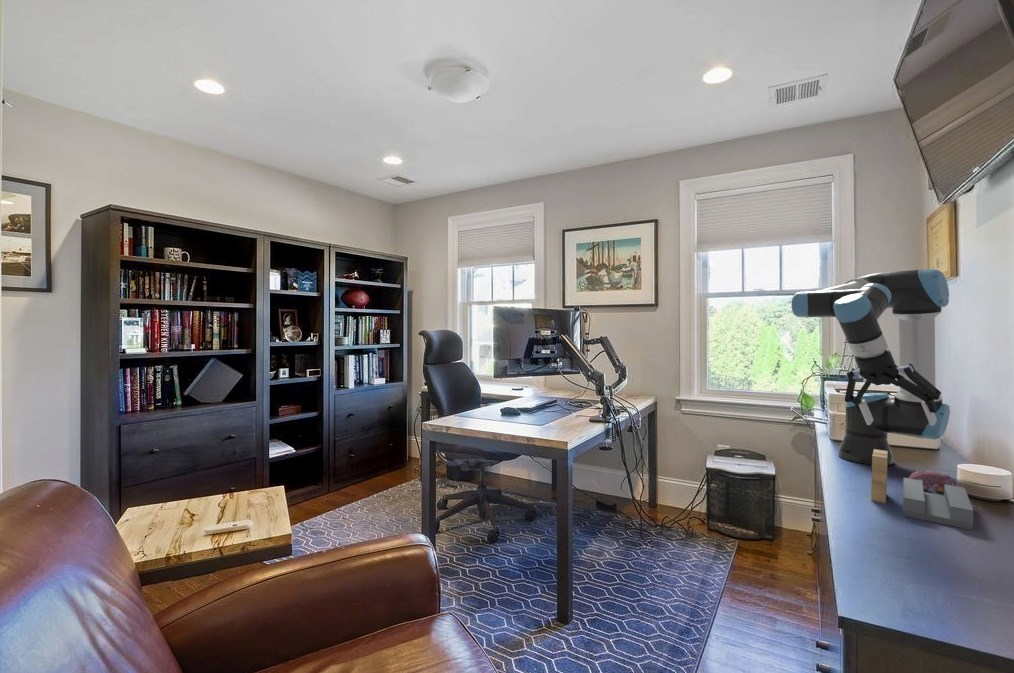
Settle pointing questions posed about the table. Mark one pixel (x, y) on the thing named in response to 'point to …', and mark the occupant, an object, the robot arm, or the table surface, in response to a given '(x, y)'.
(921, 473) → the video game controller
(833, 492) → the table surface
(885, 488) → the oak plank
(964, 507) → the grooved sill
